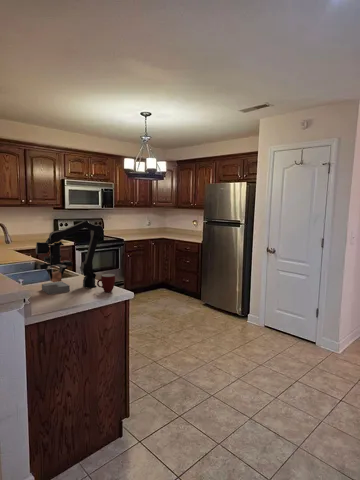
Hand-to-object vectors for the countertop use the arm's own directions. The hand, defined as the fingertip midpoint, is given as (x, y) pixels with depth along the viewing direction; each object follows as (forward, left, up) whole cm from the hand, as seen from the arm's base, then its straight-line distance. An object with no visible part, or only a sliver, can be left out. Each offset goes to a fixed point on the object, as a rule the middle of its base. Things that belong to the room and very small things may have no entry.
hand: (55, 279), depth 186 cm
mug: (-23, +19, -7) cm, 31 cm away
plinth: (0, 0, -7) cm, 7 cm away
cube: (0, 0, -1) cm, 1 cm away
